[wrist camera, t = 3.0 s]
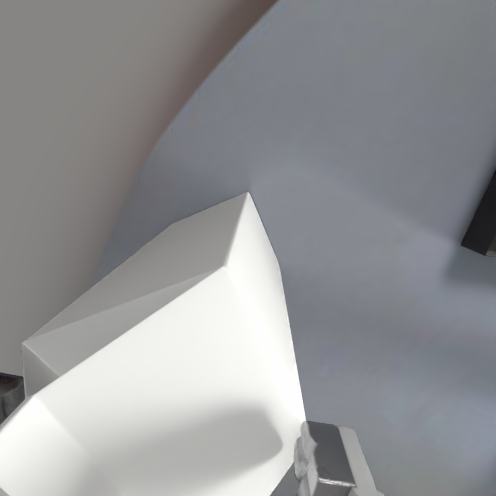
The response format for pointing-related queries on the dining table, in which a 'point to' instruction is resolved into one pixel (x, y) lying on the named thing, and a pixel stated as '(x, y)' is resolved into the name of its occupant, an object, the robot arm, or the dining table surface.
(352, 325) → the dining table surface
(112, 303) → the milk carton
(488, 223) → the scale
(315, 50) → the dining table surface
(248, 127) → the dining table surface
